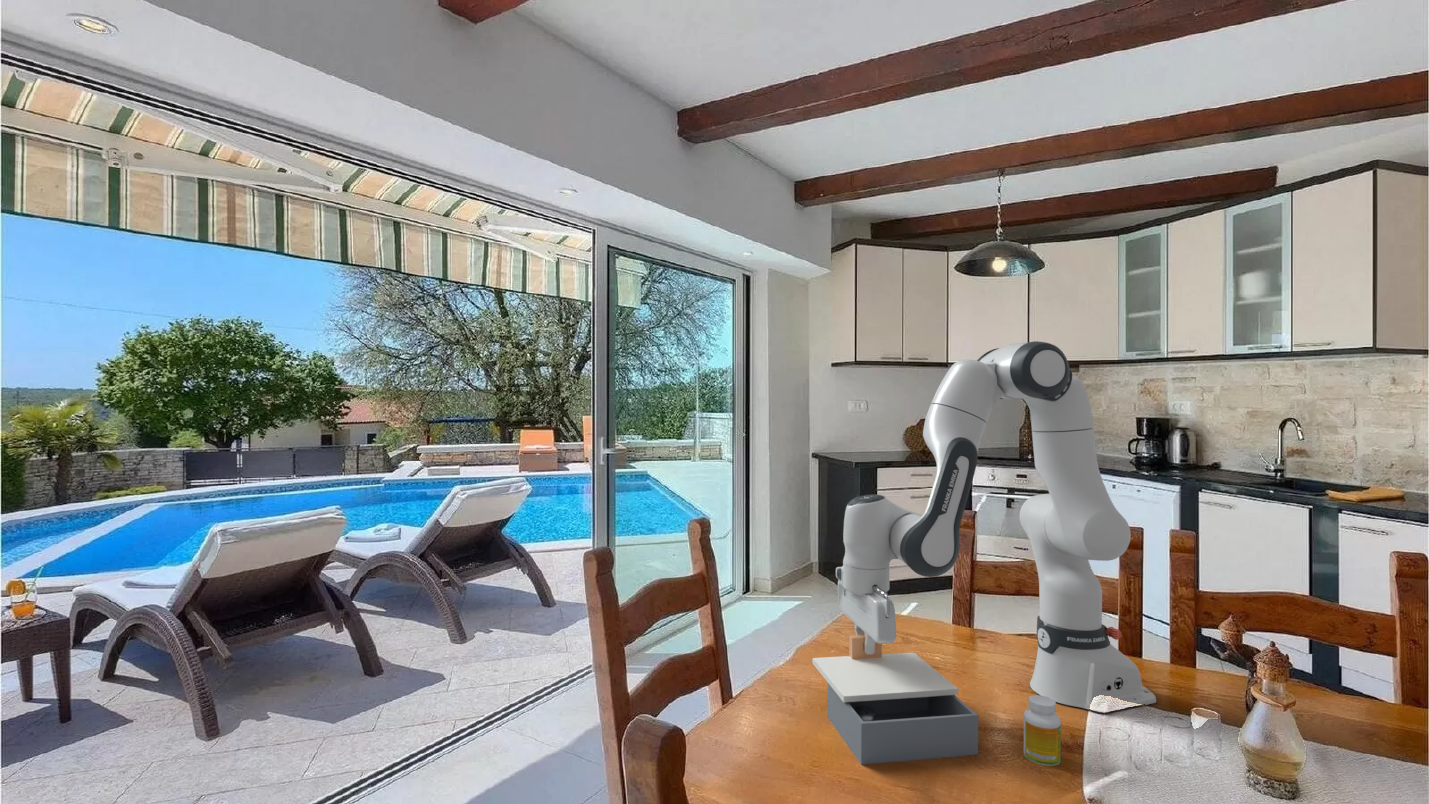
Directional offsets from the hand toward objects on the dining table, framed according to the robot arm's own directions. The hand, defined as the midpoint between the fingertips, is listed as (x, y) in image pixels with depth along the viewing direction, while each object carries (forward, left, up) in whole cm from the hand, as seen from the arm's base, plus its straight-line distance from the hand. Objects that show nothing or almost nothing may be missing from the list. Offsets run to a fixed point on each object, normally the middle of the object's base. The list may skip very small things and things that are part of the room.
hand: (865, 650), depth 128 cm
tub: (0, +15, -10) cm, 18 cm away
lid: (0, +8, -2) cm, 8 cm away
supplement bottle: (-20, +25, -10) cm, 33 cm away
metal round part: (+5, +12, -9) cm, 16 cm away
